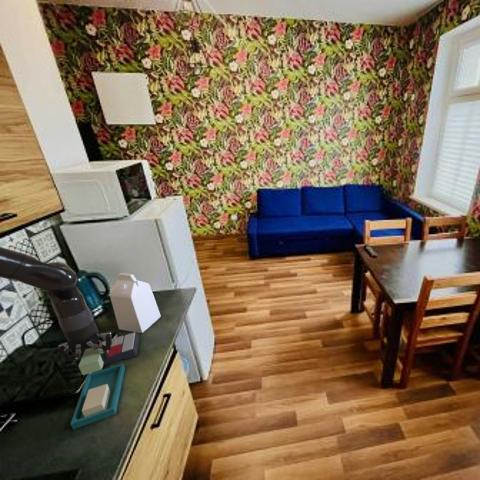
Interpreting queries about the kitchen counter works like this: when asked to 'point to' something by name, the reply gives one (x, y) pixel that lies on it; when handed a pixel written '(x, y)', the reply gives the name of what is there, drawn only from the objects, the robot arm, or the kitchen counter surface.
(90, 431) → the kitchen counter surface
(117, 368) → the tray
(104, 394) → the pad
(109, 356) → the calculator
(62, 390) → the kitchen counter surface
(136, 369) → the kitchen counter surface
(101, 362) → the pale green rectangular block
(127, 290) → the milk
